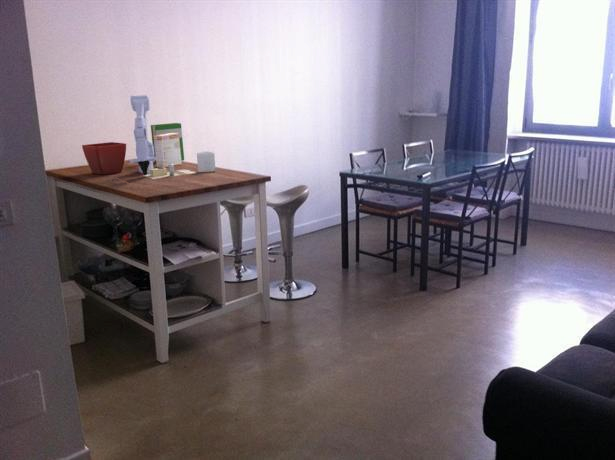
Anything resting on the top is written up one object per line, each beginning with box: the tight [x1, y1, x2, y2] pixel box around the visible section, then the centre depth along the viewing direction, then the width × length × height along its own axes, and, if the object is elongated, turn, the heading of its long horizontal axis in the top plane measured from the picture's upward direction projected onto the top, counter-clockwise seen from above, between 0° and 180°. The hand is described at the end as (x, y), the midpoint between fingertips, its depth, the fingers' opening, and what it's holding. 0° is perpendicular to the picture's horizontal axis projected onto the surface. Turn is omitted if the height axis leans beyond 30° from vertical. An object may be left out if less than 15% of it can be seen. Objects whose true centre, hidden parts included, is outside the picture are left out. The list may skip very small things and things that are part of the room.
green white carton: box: [150, 122, 185, 163], centre depth 390 cm, size 18×7×24 cm, turn 126°
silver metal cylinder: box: [168, 164, 175, 177], centre depth 331 cm, size 3×3×6 cm
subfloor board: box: [142, 169, 197, 180], centre depth 337 cm, size 18×26×1 cm
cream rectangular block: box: [149, 167, 168, 176], centre depth 334 cm, size 5×8×4 cm, turn 124°
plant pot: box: [81, 141, 127, 176], centre depth 353 cm, size 19×19×17 cm
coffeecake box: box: [154, 133, 182, 168], centre depth 372 cm, size 15×7×20 cm, turn 144°
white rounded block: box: [196, 149, 216, 173], centre depth 342 cm, size 10×4×12 cm, turn 126°
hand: (145, 174), depth 330 cm, fingers closed
